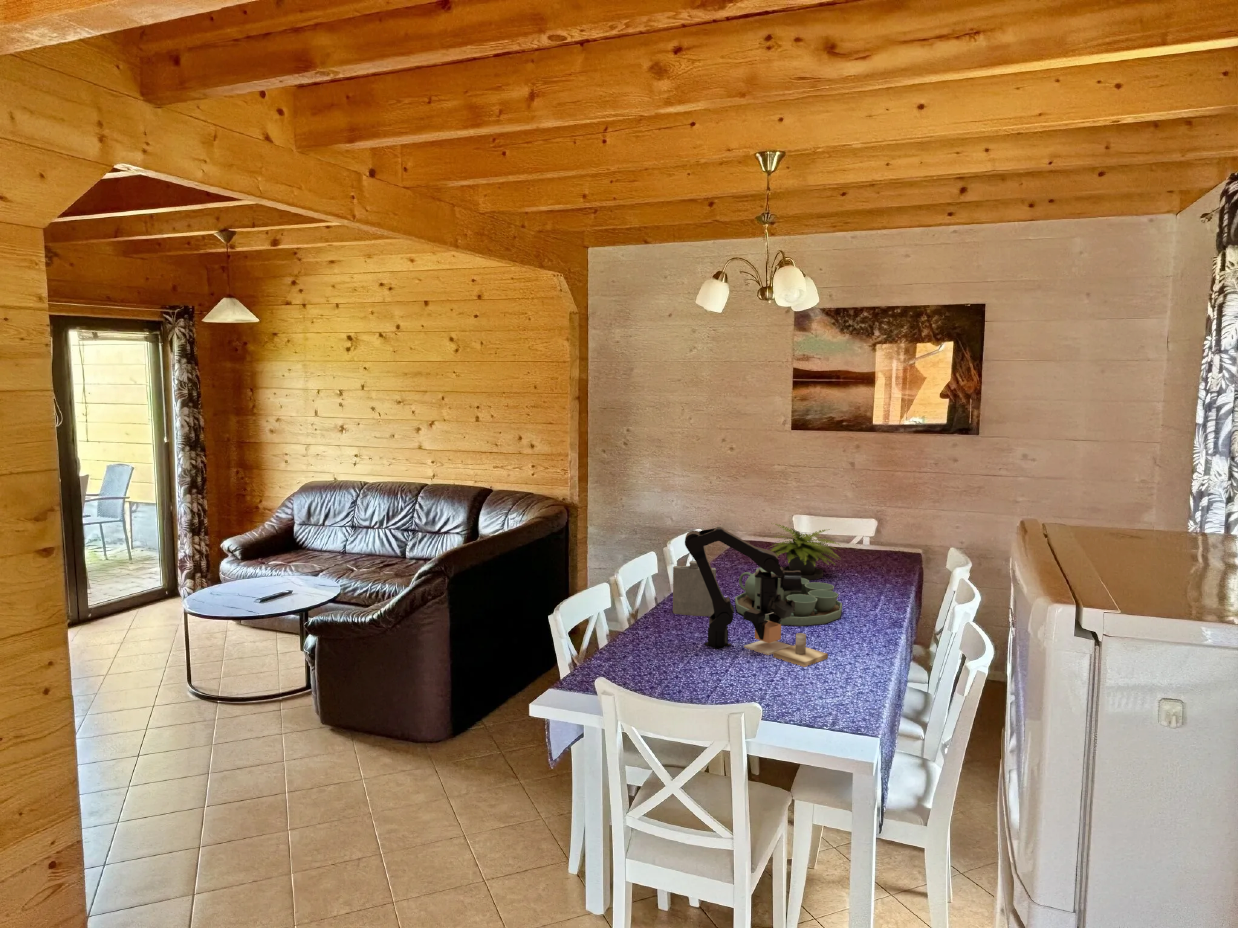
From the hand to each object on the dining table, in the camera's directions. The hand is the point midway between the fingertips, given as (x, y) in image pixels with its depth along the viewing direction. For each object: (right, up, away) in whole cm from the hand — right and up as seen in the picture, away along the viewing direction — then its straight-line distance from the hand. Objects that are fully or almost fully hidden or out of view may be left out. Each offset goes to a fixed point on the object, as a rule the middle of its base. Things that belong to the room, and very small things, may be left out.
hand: (767, 637), depth 271 cm
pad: (0, -3, 0) cm, 3 cm away
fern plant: (+33, +7, +97) cm, 103 cm away
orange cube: (0, -1, 0) cm, 0 cm away
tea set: (+15, +1, +43) cm, 46 cm away
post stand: (+9, -4, -9) cm, 13 cm away
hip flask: (-21, +1, +38) cm, 43 cm away
